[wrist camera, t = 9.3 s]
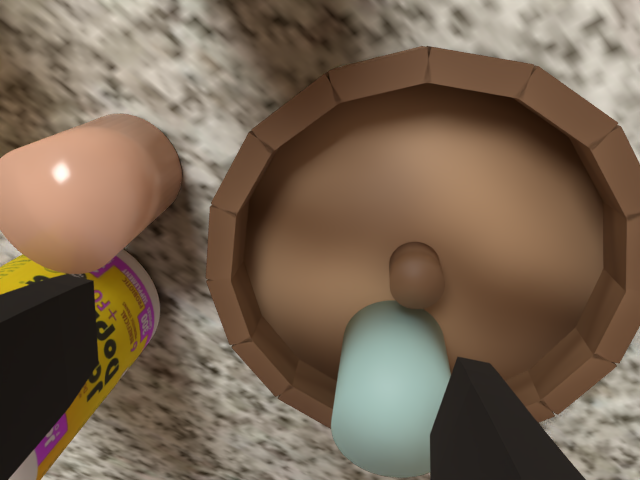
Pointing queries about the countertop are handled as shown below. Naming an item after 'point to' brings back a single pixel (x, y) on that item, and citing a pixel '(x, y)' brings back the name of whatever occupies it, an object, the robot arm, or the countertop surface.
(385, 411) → the pale teal rounded piece
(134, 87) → the countertop surface
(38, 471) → the supplement bottle
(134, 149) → the smooth rounded cylinder peach
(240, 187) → the tray
